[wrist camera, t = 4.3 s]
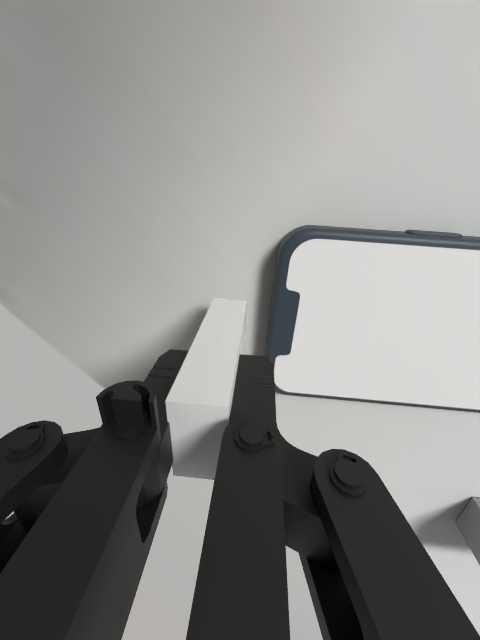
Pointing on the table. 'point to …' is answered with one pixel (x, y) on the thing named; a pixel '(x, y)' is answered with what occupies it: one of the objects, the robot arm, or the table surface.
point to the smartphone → (377, 317)
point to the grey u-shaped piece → (471, 525)
